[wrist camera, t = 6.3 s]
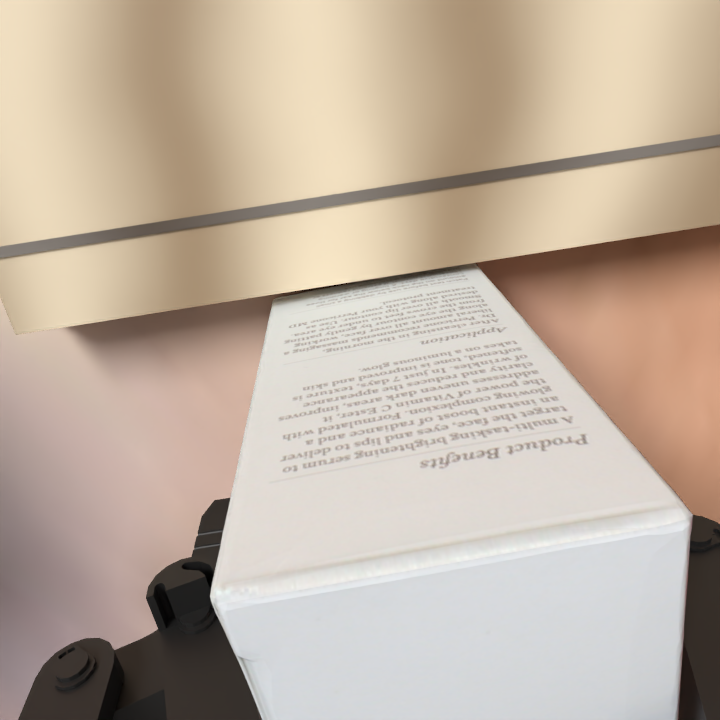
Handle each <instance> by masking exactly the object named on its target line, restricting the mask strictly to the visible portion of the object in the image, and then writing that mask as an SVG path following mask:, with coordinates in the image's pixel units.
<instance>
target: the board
mask: <svg viewBox="0 0 720 720" xmlns="http://www.w3.org/2000/svg"><path fill="white" fill-rule="evenodd" d="M719 224H720V0H0V298H1V300H2V303H3V305H4V308H5V310H6V312H7V315H8V317H9V320H10V322H11V325H12V327H13V329H14V332H15V334H16V335H19V334H25V333H32V332H38V331H44V330H51V329H57V328H63V327H70V326H76V325H83V324H89V323H95V322H102V321H108V320H114V319H121V318H127V317H133V316H140V315H146V314H152V313H159V312H165V311H172V310H178V309H184V308H191V307H197V306H203V305H210V304H216V303H222V302H229V301H235V300H242V299H248V298H254V297H261V296H267V295H273V294H280V293H286V292H292V291H299V290H305V289H312V288H318V287H324V286H331V285H337V284H343V283H350V282H356V281H362V280H369V279H375V278H381V277H388V276H394V275H401V274H407V273H413V272H420V271H426V270H432V269H439V268H445V267H451V266H458V265H464V264H471V263H477V262H483V261H490V260H496V259H502V258H509V257H515V256H521V255H528V254H534V253H541V252H547V251H553V250H560V249H566V248H572V247H579V246H585V245H591V244H598V243H604V242H611V241H617V240H623V239H630V238H636V237H642V236H649V235H655V234H661V233H668V232H674V231H680V230H687V229H693V228H700V227H706V226H712V225H719Z"/></svg>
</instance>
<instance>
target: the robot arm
mask: <svg viewBox="0 0 720 720" xmlns="http://www.w3.org/2000/svg"><path fill="white" fill-rule="evenodd" d="M229 502H230V498H226V499H220V500H214V502H213V503H212V504H211V506H210V507H209V508H208V509H207V511H206V512H205V513H204V514H203V516H202V518H201V522H200V526H199V530H198V536H197V538H196V542H195V546H194V548H195V550H193V554H192V557H190V558H186V559H181V560H179V561H177V562H175V563H173V564H171V565H169V566H167V567H166V568H165V569H163V570H162V571H161V572H160V573H159V574H157V575H156V576H155V578H154V579H153V581H152V582H151V584H150V585H149V587H148V591H147V596H146V599H147V602H148V604H149V607H150V609H151V612H152V614H153V617H154V619H155V622H156V624H157V627H158V630H156V631H155V632H154V633H152V634H150V635H148V636H146V637H144V638H142V639H140V640H138V641H135V642H133V643H131V644H128V645H126V646H124V647H121V648H119V649H117V650H114V649H113V648H112V646H111V644H110V643H109V642H107V641H105V640H103V639H100V638H86V639H83V640H80V641H77V642H74V643H71V644H69V645H68V646H66V647H65V648H63V649H61V650H60V651H58V652H57V653H55V654H54V655H53V656H52V657H51V658H50V659H49V660H48V661H47V662H46V663H45V664H44V665H43V667H42V668H41V670H40V672H39V673H38V675H37V677H36V678H35V681H34V683H33V685H32V688H31V690H30V693H29V695H28V698H27V700H26V702H25V705H24V707H23V710H22V712H21V714H20V717H19V719H18V720H262V718H261V715H260V713H259V710H258V707H257V705H256V702H255V700H254V697H253V695H252V692H251V690H250V687H249V685H248V683H247V680H246V678H245V675H244V673H243V671H242V668H241V666H240V664H239V661H238V659H237V657H236V655H235V653H234V651H233V649H232V647H231V645H230V642H229V640H228V638H227V636H226V633H225V631H224V629H223V627H222V625H221V623H220V621H219V619H218V617H217V615H216V613H215V610H214V607H213V605H212V602H211V599H210V593H211V586H212V581H213V577H214V572H215V568H216V563H217V559H218V555H219V550H220V546H221V540H222V534H223V530H224V525H225V521H226V516H227V512H228V507H229ZM678 720H720V524H718V523H717V522H715V521H712V520H710V519H707V518H704V517H702V516H696V515H693V519H692V529H691V535H690V549H689V566H688V582H687V594H686V606H685V619H684V640H683V653H682V667H681V682H680V699H679V718H678Z"/></svg>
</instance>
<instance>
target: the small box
mask: <svg viewBox="0 0 720 720" xmlns="http://www.w3.org/2000/svg"><path fill="white" fill-rule="evenodd" d="M692 519H693V514H692V513H691V512H690V510H689V509H688V508H687V507H686V505H685V504H684V503H683V501H682V500H681V499H680V497H679V496H678V495H677V494H676V492H675V491H674V490H673V489H672V488H671V487H670V486H669V485H668V484H667V483H666V481H665V480H664V479H663V478H662V477H661V476H660V475H659V474H658V473H657V471H656V470H655V469H654V468H653V467H652V465H651V464H650V463H649V462H648V461H647V460H646V458H645V457H644V456H643V455H642V454H641V453H640V452H639V450H638V449H637V448H636V447H635V446H634V445H633V444H632V442H631V441H630V440H629V439H628V438H627V437H626V436H625V434H624V433H623V432H622V431H621V430H620V429H619V428H618V427H617V426H616V425H615V423H614V422H613V421H612V420H611V419H610V418H609V416H608V415H607V414H606V413H605V412H604V411H603V409H602V408H601V407H600V406H599V405H598V404H597V402H596V401H595V400H594V399H593V398H592V397H591V396H590V395H589V393H588V392H587V391H586V390H585V389H584V388H583V386H582V385H581V384H580V382H579V381H578V380H577V379H576V378H575V377H574V376H573V375H572V374H571V373H570V372H569V371H568V369H567V368H566V367H565V366H564V365H563V364H562V362H561V361H560V360H559V359H558V358H557V357H556V356H555V355H554V353H553V352H552V351H551V350H550V349H549V348H548V347H547V346H546V344H545V343H544V342H543V341H542V340H541V338H540V337H539V336H538V335H537V334H536V333H535V332H534V330H533V329H532V328H531V327H530V326H529V324H528V323H527V322H526V321H525V320H524V319H523V317H522V316H521V315H520V314H519V313H518V312H517V311H516V310H515V308H514V307H513V306H512V305H511V304H510V303H509V301H508V300H507V299H506V298H505V297H504V296H503V295H502V293H501V292H500V291H499V290H498V289H497V288H496V287H495V286H494V284H493V283H492V282H491V281H490V280H489V279H488V278H487V276H486V275H485V274H484V273H483V272H482V270H481V269H480V268H479V267H478V266H477V265H476V264H475V263H471V264H464V265H458V266H451V267H445V268H439V269H432V270H426V271H420V272H413V273H407V274H401V275H394V276H389V277H383V278H378V279H373V280H367V281H362V282H356V283H351V284H346V285H340V286H335V287H330V288H324V289H319V290H314V291H309V292H304V293H299V294H294V295H289V296H283V297H278V298H276V299H274V300H273V302H272V308H271V312H270V316H269V321H268V326H267V330H266V335H265V340H264V345H263V350H262V354H261V358H260V363H259V368H258V372H257V377H256V382H255V386H254V391H253V395H252V400H251V405H250V409H249V414H248V419H247V423H246V428H245V432H244V437H243V442H242V446H241V451H240V456H239V461H238V466H237V471H236V476H235V480H234V484H233V489H232V493H231V497H230V502H229V507H228V512H227V516H226V521H225V525H224V530H223V534H222V540H221V546H220V550H219V555H218V559H217V563H216V568H215V572H214V577H213V581H212V586H211V593H210V599H211V602H212V605H213V607H214V610H215V613H216V615H217V617H218V619H219V621H220V623H221V625H222V627H223V629H224V631H225V633H226V636H227V638H228V640H229V642H230V645H231V647H232V649H233V651H234V653H235V655H236V657H237V659H238V661H239V664H240V666H241V668H242V671H243V673H244V675H245V678H246V680H247V683H248V685H249V687H250V690H251V692H252V695H253V697H254V700H255V702H256V705H257V707H258V710H259V713H260V715H261V718H262V720H678V718H679V699H680V682H681V667H682V653H683V640H684V619H685V606H686V594H687V582H688V566H689V549H690V535H691V529H692Z"/></svg>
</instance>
